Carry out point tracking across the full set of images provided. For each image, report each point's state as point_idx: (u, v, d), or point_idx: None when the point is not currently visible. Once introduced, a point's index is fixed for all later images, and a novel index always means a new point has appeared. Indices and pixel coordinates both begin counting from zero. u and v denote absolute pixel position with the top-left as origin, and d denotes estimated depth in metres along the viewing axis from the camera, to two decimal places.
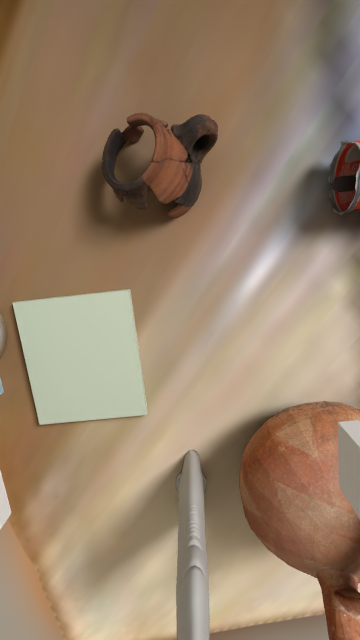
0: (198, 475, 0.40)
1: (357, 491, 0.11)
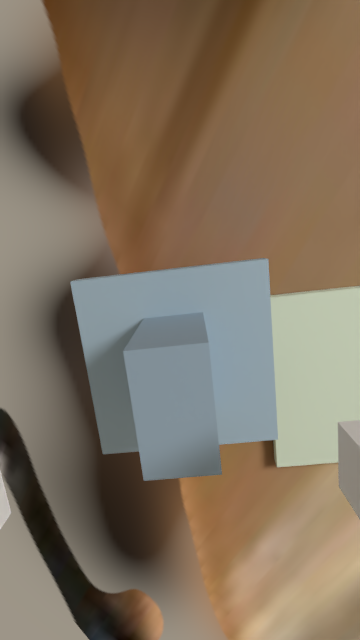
0: None
1: (357, 491, 0.11)
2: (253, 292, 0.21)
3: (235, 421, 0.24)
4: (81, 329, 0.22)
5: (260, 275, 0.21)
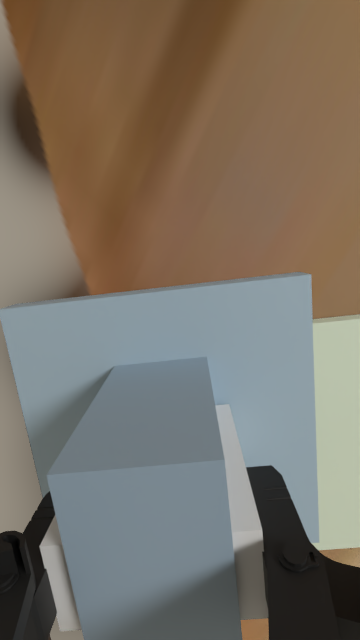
0: None
1: None
2: (286, 326, 0.14)
3: None
4: (18, 382, 0.14)
5: (298, 299, 0.13)
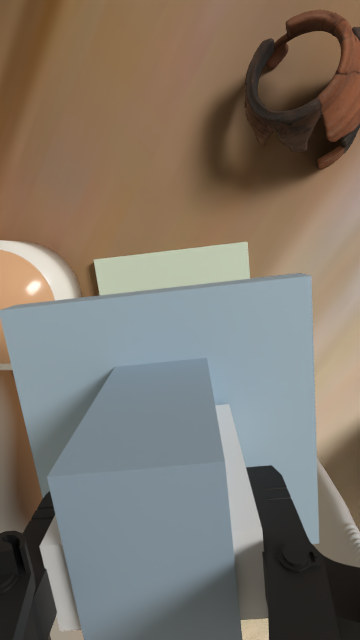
0: None
1: None
2: (286, 327, 0.14)
3: None
4: (19, 383, 0.14)
5: (298, 301, 0.13)
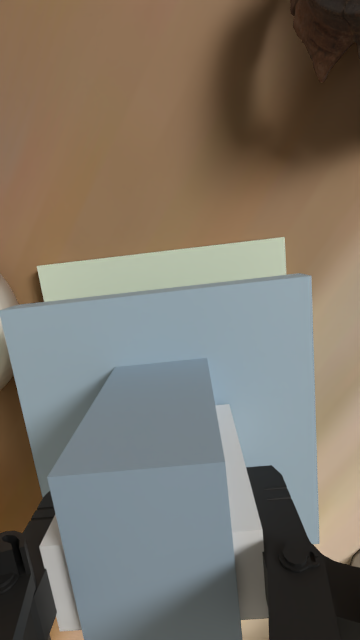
0: None
1: None
2: (286, 327, 0.14)
3: None
4: (19, 383, 0.14)
5: (298, 301, 0.13)
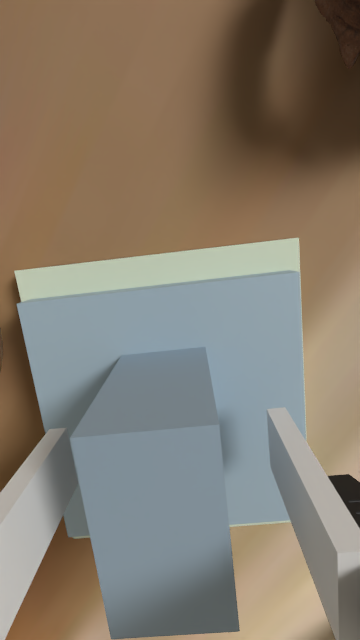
0: None
1: (278, 469, 0.12)
2: (277, 318, 0.15)
3: (250, 495, 0.17)
4: (34, 370, 0.16)
5: (288, 295, 0.15)
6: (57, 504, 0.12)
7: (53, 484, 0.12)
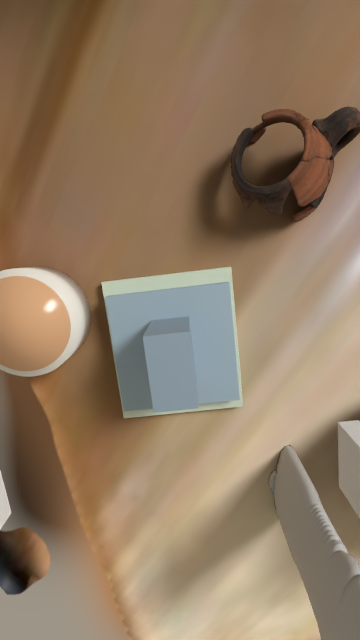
0: (306, 472, 0.36)
1: (357, 491, 0.11)
2: (220, 303, 0.34)
3: (211, 388, 0.36)
4: (111, 327, 0.35)
5: (225, 292, 0.34)
6: None
7: None
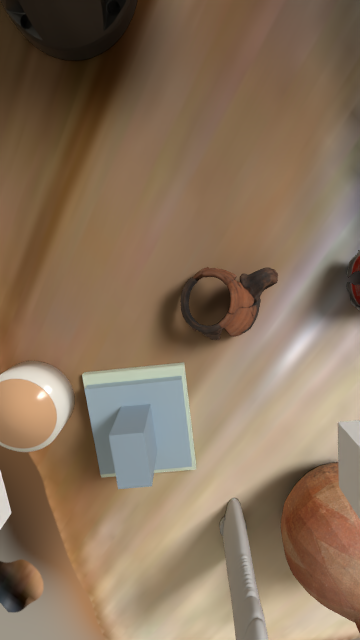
0: (243, 524, 0.45)
1: (357, 491, 0.11)
2: (175, 394, 0.43)
3: (169, 457, 0.45)
4: (89, 411, 0.44)
5: (178, 387, 0.43)
6: None
7: None
